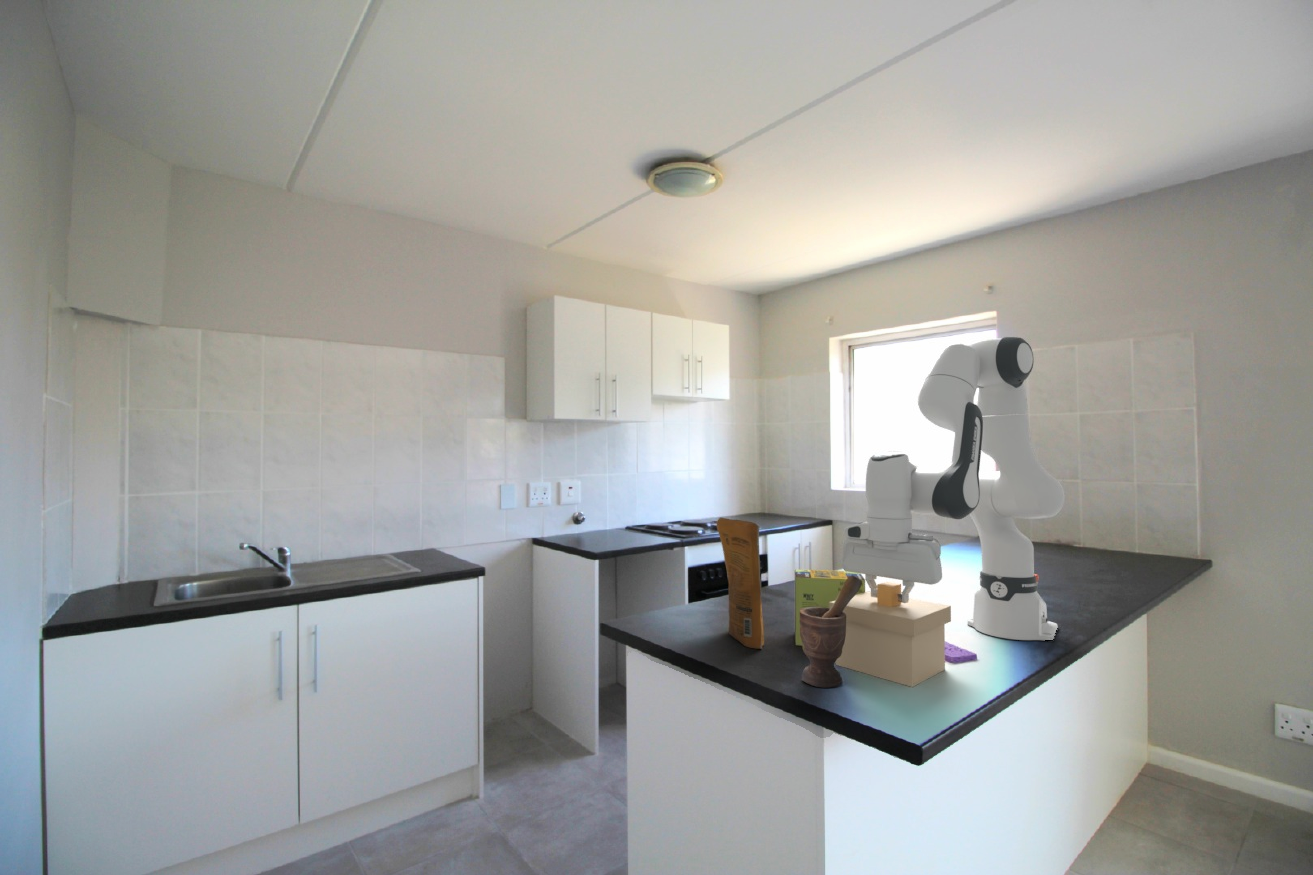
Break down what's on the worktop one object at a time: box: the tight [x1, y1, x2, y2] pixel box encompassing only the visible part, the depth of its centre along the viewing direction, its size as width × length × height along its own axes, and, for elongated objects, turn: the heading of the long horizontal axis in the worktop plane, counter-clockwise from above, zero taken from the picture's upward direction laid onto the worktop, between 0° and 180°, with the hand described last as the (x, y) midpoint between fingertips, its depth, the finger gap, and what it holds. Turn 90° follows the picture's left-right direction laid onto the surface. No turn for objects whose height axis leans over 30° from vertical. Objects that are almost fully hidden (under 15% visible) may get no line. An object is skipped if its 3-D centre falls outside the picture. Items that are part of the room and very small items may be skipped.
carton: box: [835, 621, 946, 688], centre depth 124 cm, size 14×16×12 cm
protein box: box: [794, 569, 866, 647], centre depth 142 cm, size 10×15×16 cm
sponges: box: [945, 641, 978, 664], centre depth 134 cm, size 7×13×2 cm, turn 18°
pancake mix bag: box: [716, 517, 765, 650], centre depth 143 cm, size 7×19×28 cm, turn 16°
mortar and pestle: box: [800, 575, 862, 688], centre depth 117 cm, size 12×9×20 cm
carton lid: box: [829, 581, 952, 637], centre depth 124 cm, size 16×18×7 cm
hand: (889, 599), depth 124 cm, fingers open, 4 cm apart
